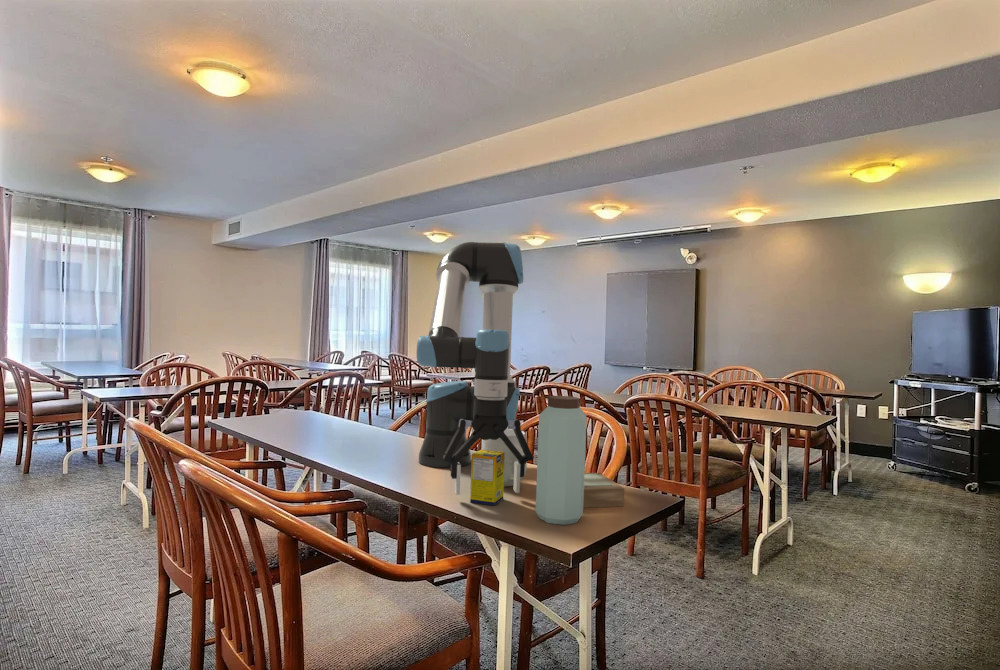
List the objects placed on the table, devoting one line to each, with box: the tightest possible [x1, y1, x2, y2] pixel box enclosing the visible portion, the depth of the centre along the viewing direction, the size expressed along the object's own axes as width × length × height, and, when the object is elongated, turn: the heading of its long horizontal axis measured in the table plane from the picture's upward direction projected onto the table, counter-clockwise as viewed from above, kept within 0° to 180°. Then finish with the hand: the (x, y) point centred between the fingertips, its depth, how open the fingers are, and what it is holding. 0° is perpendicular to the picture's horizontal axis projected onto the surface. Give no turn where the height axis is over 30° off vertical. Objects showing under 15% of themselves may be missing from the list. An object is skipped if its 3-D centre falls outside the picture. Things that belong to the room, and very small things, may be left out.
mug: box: [481, 428, 528, 488], centre depth 138 cm, size 15×11×13 cm
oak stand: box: [583, 472, 625, 509], centre depth 130 cm, size 14×14×4 cm
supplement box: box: [469, 448, 505, 506], centre depth 125 cm, size 6×6×11 cm
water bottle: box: [535, 395, 588, 526], centre depth 115 cm, size 10×10×25 cm
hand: (487, 492), depth 125 cm, fingers open, 13 cm apart
